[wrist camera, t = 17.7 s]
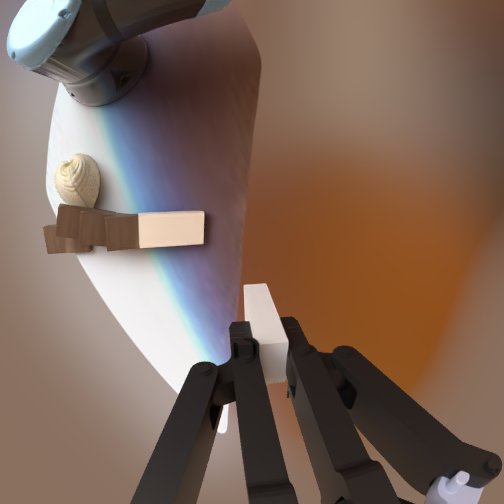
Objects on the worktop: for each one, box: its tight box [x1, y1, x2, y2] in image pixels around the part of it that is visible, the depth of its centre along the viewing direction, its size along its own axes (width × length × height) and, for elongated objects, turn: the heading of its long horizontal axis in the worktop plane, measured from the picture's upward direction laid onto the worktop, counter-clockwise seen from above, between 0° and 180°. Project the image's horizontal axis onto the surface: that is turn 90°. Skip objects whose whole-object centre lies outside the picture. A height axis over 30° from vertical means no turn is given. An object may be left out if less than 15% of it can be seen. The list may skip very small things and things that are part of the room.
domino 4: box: [105, 214, 140, 251], centre depth 39 cm, size 2×5×10 cm
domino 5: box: [138, 211, 204, 248], centre depth 40 cm, size 2×5×10 cm
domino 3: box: [79, 211, 129, 246], centre depth 38 cm, size 2×5×10 cm
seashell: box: [55, 154, 100, 208], centre depth 36 cm, size 8×8×8 cm
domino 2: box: [56, 204, 116, 239], centre depth 37 cm, size 2×5×10 cm
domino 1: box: [43, 224, 93, 254], centre depth 40 cm, size 2×5×10 cm
